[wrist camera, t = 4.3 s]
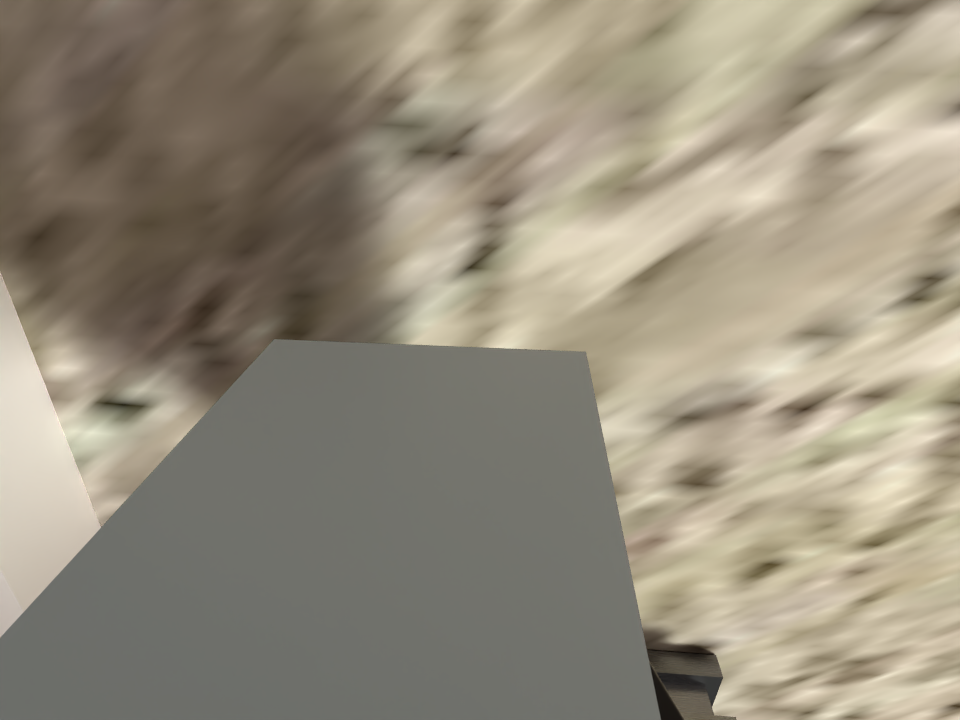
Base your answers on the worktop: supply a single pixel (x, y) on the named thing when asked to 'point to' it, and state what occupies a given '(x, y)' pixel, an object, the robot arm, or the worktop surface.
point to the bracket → (33, 478)
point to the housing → (356, 555)
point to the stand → (689, 682)
